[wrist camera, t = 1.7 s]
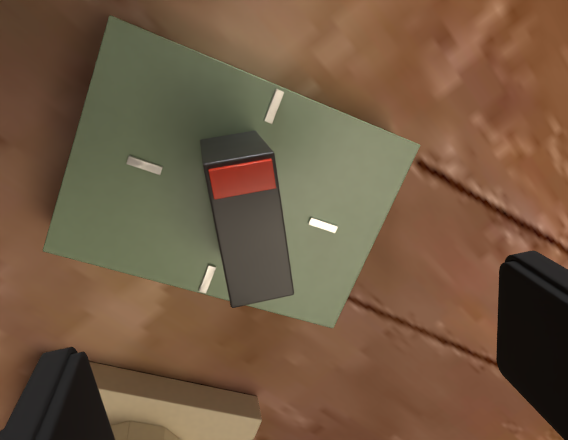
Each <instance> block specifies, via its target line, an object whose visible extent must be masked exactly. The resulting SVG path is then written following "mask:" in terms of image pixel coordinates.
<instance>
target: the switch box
mask: <svg viewBox="0 0 568 440" xmlns="http://www.w3.org/2000/svg"><path fill="white" fill-rule="evenodd" d="M89 363H90V366H91V369H92V372H93V375H94V378H95V381H96V384H97V387H98V389H99V392H100V395H101V398H102V401H103V404H104V407H105V410H106V413H107V416H108V419H109V422H110V425H111V428H112V431H113V434H114V437H115V440H253V439H254V437H255V435H256V432H257V430H258V428H259V426H260V424H261V421H262V418H261V413H260V408H259V403H258V398H257V396H252V395H247V394H242V393H237V392H233V391H228V390H223V389H218V388H213V387H209V386H204V385H199V384H194V383H189V382H185V381H180V380H175V379H170V378H165V377H160V376H156V375H151V374H146V373H141V372H136V371H132V370H127V369H122V368H117V367H112V366H107V365H103V364H98V363H93V362H89Z"/></svg>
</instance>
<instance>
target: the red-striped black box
mask: <svg viewBox="0 0 568 440" xmlns="http://www.w3.org/2000/svg"><path fill="white" fill-rule="evenodd" d="M200 147H201V155H202V163H203V169H204V174H205V179H206V184H207V189H208V194H209V199H210V204H211V209H212V214H213V219H214V224H215V229H216V234H217V239H218V244H219V250H220V255H221V260H222V265H223V270H224V275H225V280H226V285H227V290H228V295H229V300H230V305H231V307H232V308H235V307H240V306H244V305H249V304H254V303H258V302H263V301H268V300H272V299H277V298H282V297H286V296H291V295H294V287H293V280H292V273H291V266H290V259H289V252H288V245H287V238H286V231H285V224H284V217H283V210H282V203H281V196H280V189H279V181H278V174H277V167H276V160H275V153H274V152H273V151H272V149H271V148H270V147H269V146H268V145H267V143H266V142H265V141H264V140H263V139H262V137H261V136H260V135H259V134H258V133H257V131H249V132H243V133H237V134H231V135H225V136H219V137H213V138H207V139H201V140H200Z"/></svg>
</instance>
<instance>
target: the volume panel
mask: <svg viewBox="0 0 568 440" xmlns="http://www.w3.org/2000/svg"><path fill="white" fill-rule="evenodd" d="M249 131H257V133H258V134H259V135H260V136H261V137H262V139H263V140H264V141H265V142H266V143H267V145H268V146H269V147H270V148H271V149H272V151H273V152H274V153H275V160H276V167H277V174H278V181H279V189H280V196H281V203H282V210H283V217H284V224H285V231H286V238H287V245H288V252H289V259H290V266H291V273H292V280H293V287H294V295H291V296H286V297H282V298H277V299H272V300H268V301H263V302H258V303H254V304H249V305H247V306H251V307H254V308H258V309H262V310H266V311H269V312H273V313H277V314H281V315H284V316H288V317H292V318H296V319H299V320H303V321H307V322H311V323H314V324H318V325H322V326H326V327H329V328H334V326H335V324H336V322H337V319H338V317H339V315H340V313H341V311H342V309H343V307H344V305H345V303H346V301H347V298H348V296H349V294H350V292H351V290H352V288H353V286H354V284H355V282H356V279H357V277H358V275H359V273H360V271H361V269H362V267H363V265H364V263H365V261H366V258H367V256H368V254H369V252H370V250H371V248H372V246H373V244H374V242H375V239H376V237H377V235H378V233H379V231H380V229H381V227H382V225H383V223H384V221H385V218H386V216H387V214H388V212H389V210H390V208H391V206H392V204H393V202H394V200H395V197H396V195H397V193H398V191H399V189H400V187H401V185H402V183H403V181H404V178H405V176H406V174H407V172H408V170H409V168H410V166H411V164H412V162H413V160H414V157H415V155H416V153H417V151H418V149H419V147H420V145H419V144H417V143H414V142H412V141H410V140H407V139H405V138H402V137H400V136H398V135H395V134H393V133H391V132H388V131H386V130H383V129H381V128H379V127H376V126H374V125H371V124H369V123H367V122H364V121H362V120H359V119H357V118H355V117H352V116H350V115H348V114H345V113H343V112H340V111H338V110H336V109H333V108H331V107H328V106H326V105H324V104H321V103H319V102H317V101H314V100H312V99H309V98H307V97H305V96H302V95H300V94H297V93H295V92H293V91H290V90H288V89H285V88H283V87H281V86H278V85H276V84H274V83H271V82H269V81H266V80H264V79H262V78H259V77H257V76H254V75H252V74H250V73H247V72H245V71H243V70H240V69H238V68H235V67H233V66H231V65H228V64H226V63H223V62H221V61H219V60H216V59H214V58H211V57H209V56H207V55H204V54H202V53H200V52H197V51H195V50H192V49H190V48H188V47H185V46H183V45H180V44H178V43H176V42H173V41H171V40H169V39H166V38H164V37H161V36H159V35H157V34H154V33H152V32H149V31H147V30H145V29H142V28H140V27H137V26H135V25H133V24H130V23H128V22H126V21H123V20H121V19H118V18H116V17H114V16H111V15H110V16H109V18H108V22H107V25H106V29H105V32H104V36H103V39H102V43H101V46H100V50H99V54H98V57H97V61H96V64H95V68H94V71H93V75H92V78H91V82H90V85H89V89H88V92H87V96H86V99H85V103H84V106H83V110H82V114H81V117H80V121H79V124H78V128H77V131H76V135H75V138H74V142H73V145H72V149H71V152H70V156H69V159H68V163H67V167H66V170H65V174H64V177H63V181H62V184H61V188H60V191H59V195H58V198H57V202H56V205H55V209H54V212H53V216H52V219H51V223H50V227H49V230H48V234H47V237H46V241H45V244H44V248H43V251H44V252H48V253H51V254H55V255H59V256H63V257H66V258H70V259H74V260H78V261H81V262H85V263H89V264H93V265H96V266H100V267H104V268H108V269H111V270H115V271H119V272H123V273H126V274H130V275H134V276H138V277H141V278H145V279H149V280H153V281H157V282H160V283H164V284H168V285H172V286H175V287H179V288H183V289H187V290H190V291H194V292H198V293H202V294H205V295H209V296H213V297H217V298H220V299H224V300H228V301H230V300H229V295H228V290H227V285H226V280H225V275H224V270H223V265H222V260H221V255H220V250H219V244H218V239H217V234H216V229H215V224H214V219H213V214H212V209H211V204H210V199H209V194H208V189H207V184H206V179H205V174H204V169H203V163H202V155H201V147H200V140H201V139H207V138H213V137H219V136H225V135H231V134H237V133H243V132H249Z"/></svg>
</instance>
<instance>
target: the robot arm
mask: <svg viewBox="0 0 568 440" xmlns="http://www.w3.org/2000/svg"><path fill="white" fill-rule="evenodd" d="M497 364H498V367H499V370H500V372H501V373H502V375H503V376H504V377H505V378H506V379H507V380H508V381H509V382H510V383H511V384H512V385H513V386H514V387H515V388H516V390H517V391H518V392H519V393H520V394H521V395H522V396H523V397H524V398H525V399H526V400H527V401H528V402H529V403H530V404H531V405H532V406H533V407H534V408H535V409H536V410H537V411H538V413H539V414H540V415H541V416H542V417H543V418H544V419H545V420H546V421H547V422H548V423H549V424H550V425H551V426H552V427H553V428H554V429H555V430H556V431H557V432H558V433H559V434H560V436H561V437H562V438H563V439H564V440H568V269H566V268H564V267H562V266H561V265H559V264H557V263H555V262H554V261H552V260H550V259H549V258H547V257H545V256H543V255H542V254H540V253H538V252H536V251H528V252H523V253H519V254H514V255H509V256H508V257H507V258H506V260H505V263H503V264H501V266H500V270H499V297H498V329H497ZM0 440H115V437H114V434H113V431H112V428H111V425H110V422H109V419H108V416H107V413H106V410H105V407H104V404H103V401H102V398H101V395H100V392H99V389H98V387H97V384H96V381H95V378H94V375H93V372H92V369H91V366H90V363H89V360H88V357H87V355H86V353H85V352H80V353H77V351H76V349H75V348H73V347H70V348H65V349H60V350H55V351H50V352H46V353H43V354H42V355H41V357H40V359H39V361H38V363H37V365H36V367H35V369H34V371H33V373H32V375H31V377H30V379H29V381H28V383H27V385H26V387H25V389H24V391H23V393H22V395H21V397H20V399H19V400H18V402H17V404H16V406H15V408H14V410H13V412H12V414H11V416H10V418H9V420H8V422H7V424H6V426H5V428H4V429H3V430H1V431H0Z"/></svg>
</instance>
